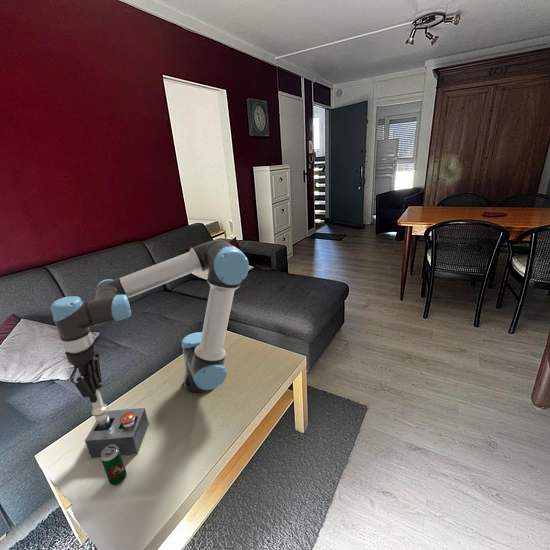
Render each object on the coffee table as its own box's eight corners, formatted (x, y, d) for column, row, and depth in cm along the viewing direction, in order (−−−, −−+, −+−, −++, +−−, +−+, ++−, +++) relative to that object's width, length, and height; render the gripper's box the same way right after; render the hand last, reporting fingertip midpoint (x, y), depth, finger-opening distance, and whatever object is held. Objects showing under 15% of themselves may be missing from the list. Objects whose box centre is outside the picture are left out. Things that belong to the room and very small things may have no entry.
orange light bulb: (140, 428, 107) (136, 411, 104) (136, 439, 103) (131, 421, 100) (127, 429, 107) (122, 412, 104) (122, 440, 103) (117, 423, 100)
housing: (148, 424, 112) (144, 407, 109) (137, 454, 101) (132, 436, 98) (107, 427, 111) (101, 411, 108) (91, 458, 100) (84, 440, 97)
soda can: (113, 471, 95) (104, 443, 91) (129, 469, 96) (121, 442, 91) (106, 487, 91) (96, 459, 86) (123, 485, 91) (114, 457, 87)
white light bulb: (114, 420, 105) (109, 402, 102) (109, 431, 101) (103, 413, 98) (101, 421, 105) (95, 403, 102) (94, 432, 101) (88, 414, 98)
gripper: (77, 335, 96) (96, 392, 105) (53, 361, 84) (76, 423, 93) (102, 333, 97) (118, 391, 106) (81, 359, 85) (101, 421, 94)
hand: (98, 406), depth 99 cm, fingers closed
